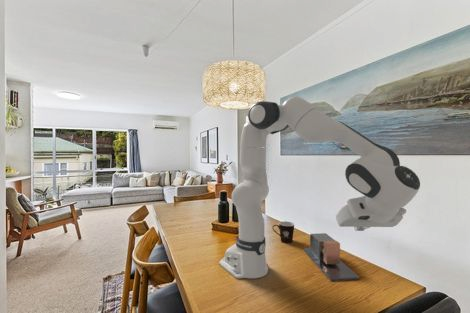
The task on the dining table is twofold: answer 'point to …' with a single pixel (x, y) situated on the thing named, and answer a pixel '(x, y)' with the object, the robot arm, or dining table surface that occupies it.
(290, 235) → the coffee mug
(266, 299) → the dining table surface
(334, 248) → the shaft
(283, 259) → the dining table surface
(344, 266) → the housing
